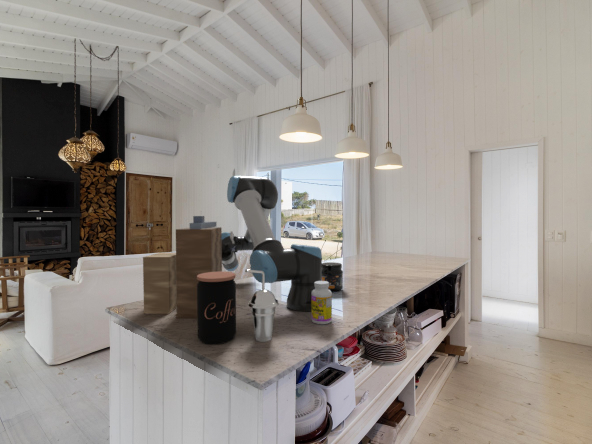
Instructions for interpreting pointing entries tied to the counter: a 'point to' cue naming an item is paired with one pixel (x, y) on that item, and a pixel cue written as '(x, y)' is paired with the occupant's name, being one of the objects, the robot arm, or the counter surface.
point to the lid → (201, 223)
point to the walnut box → (195, 264)
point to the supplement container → (333, 275)
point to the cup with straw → (263, 311)
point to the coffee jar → (216, 307)
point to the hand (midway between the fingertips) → (215, 234)
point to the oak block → (159, 283)
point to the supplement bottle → (321, 303)
